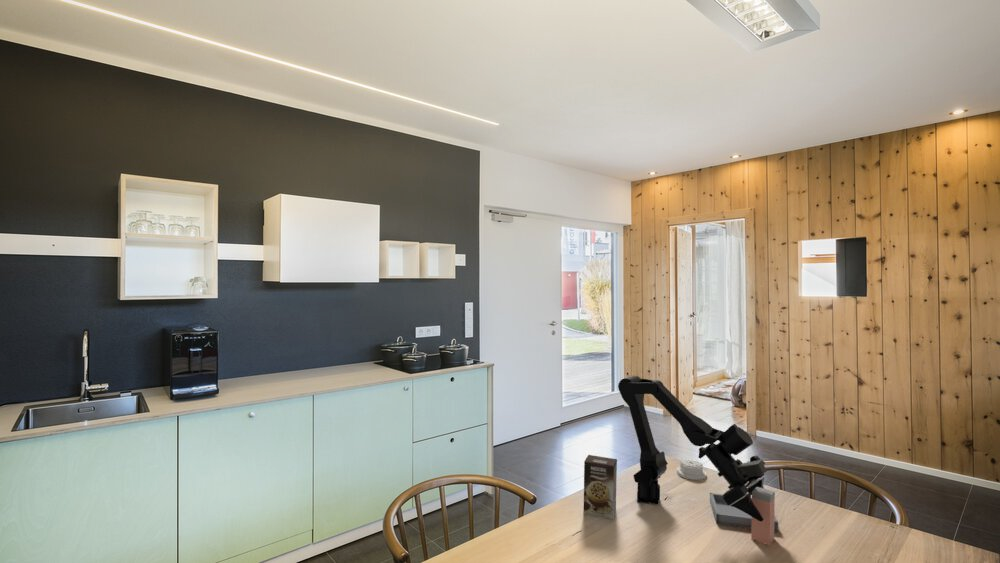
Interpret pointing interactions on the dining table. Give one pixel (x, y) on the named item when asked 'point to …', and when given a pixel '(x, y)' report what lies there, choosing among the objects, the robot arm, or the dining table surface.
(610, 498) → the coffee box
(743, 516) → the tray
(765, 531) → the pink and gray block
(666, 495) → the dining table surface
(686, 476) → the white round piece
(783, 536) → the dining table surface
